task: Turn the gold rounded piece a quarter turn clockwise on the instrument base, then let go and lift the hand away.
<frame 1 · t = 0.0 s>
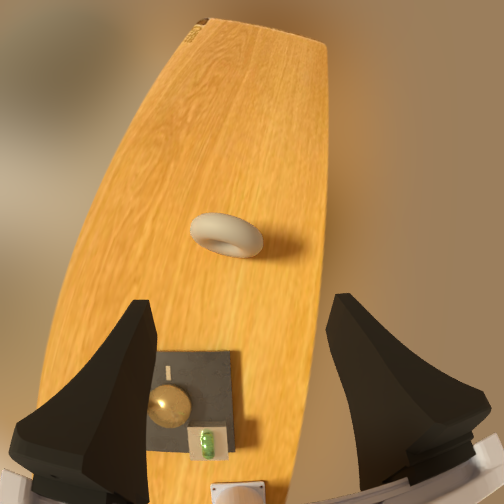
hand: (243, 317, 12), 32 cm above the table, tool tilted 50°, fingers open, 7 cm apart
gold rounded piece: (145, 408, 34), point 5 cm above the table, hinge at 0.0°
instrument base: (172, 402, 39), on the table
donut: (225, 247, 46), on the table
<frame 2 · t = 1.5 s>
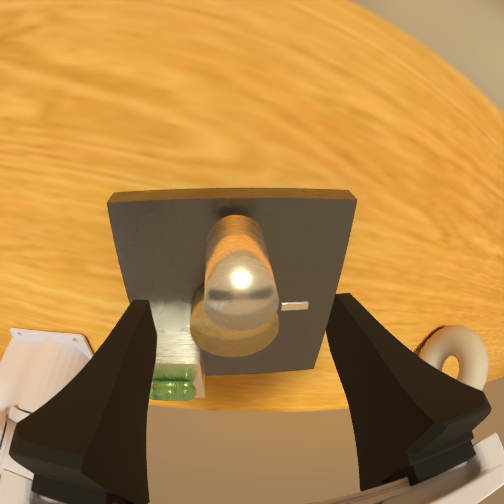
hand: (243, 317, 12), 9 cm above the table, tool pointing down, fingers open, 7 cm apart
gold rounded piece: (236, 317, 18), point 5 cm above the table, hinge at 0.0°
instrument base: (232, 294, 23), on the table
donut: (430, 336, 30), on the table
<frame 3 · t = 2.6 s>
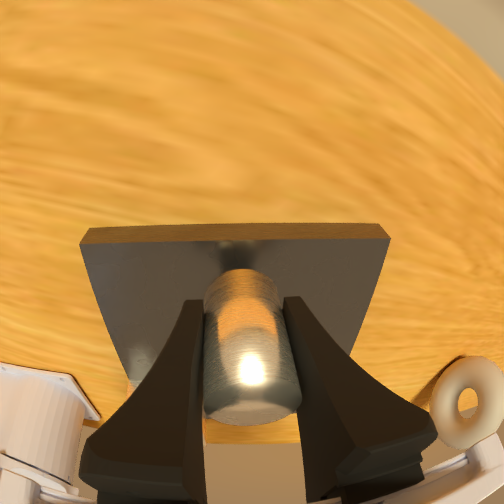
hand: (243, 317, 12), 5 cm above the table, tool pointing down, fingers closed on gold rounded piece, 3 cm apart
gold rounded piece: (242, 384, 14), point 5 cm above the table, hinge at 0.0°, touching gripper
instrument base: (235, 341, 20), on the table
donut: (447, 366, 27), on the table
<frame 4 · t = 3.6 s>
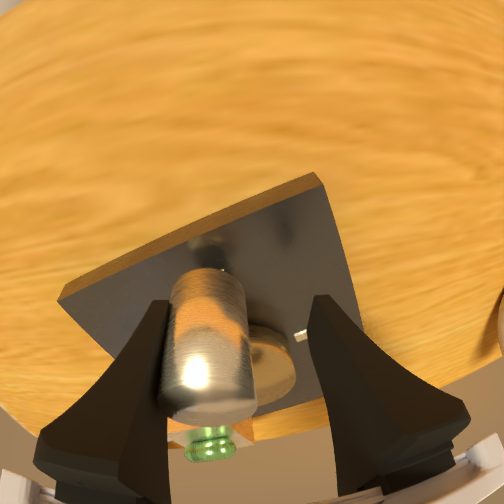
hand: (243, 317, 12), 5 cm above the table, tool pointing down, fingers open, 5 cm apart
gold rounded piece: (233, 382, 14), point 5 cm above the table, hinge at -12.2°, touching gripper
instrument base: (239, 337, 19), on the table
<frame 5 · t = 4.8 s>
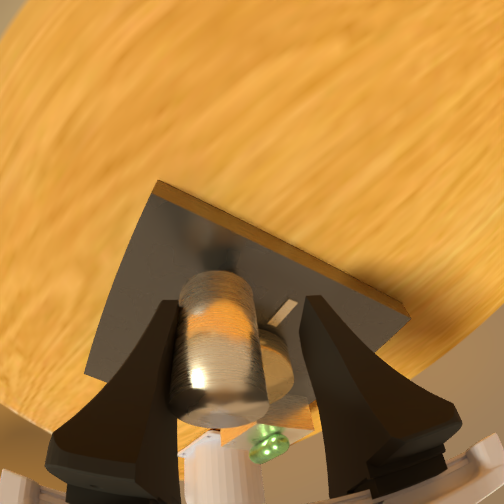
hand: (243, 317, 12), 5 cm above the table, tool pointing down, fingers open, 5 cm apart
gold rounded piece: (235, 384, 14), point 5 cm above the table, hinge at -51.1°, touching gripper
instrument base: (237, 340, 19), on the table
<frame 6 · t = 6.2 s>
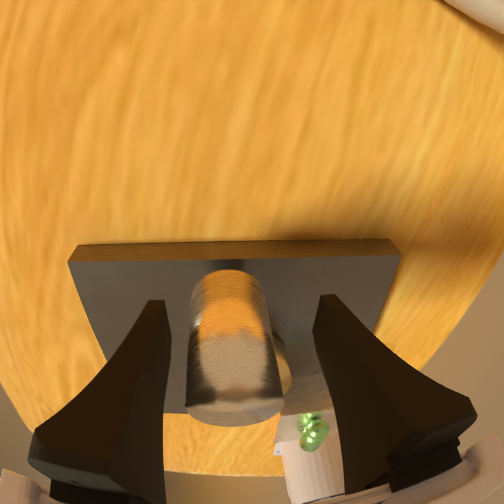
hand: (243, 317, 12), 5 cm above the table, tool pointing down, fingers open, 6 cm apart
gold rounded piece: (237, 384, 14), point 5 cm above the table, hinge at -85.5°
instrument base: (235, 341, 20), on the table
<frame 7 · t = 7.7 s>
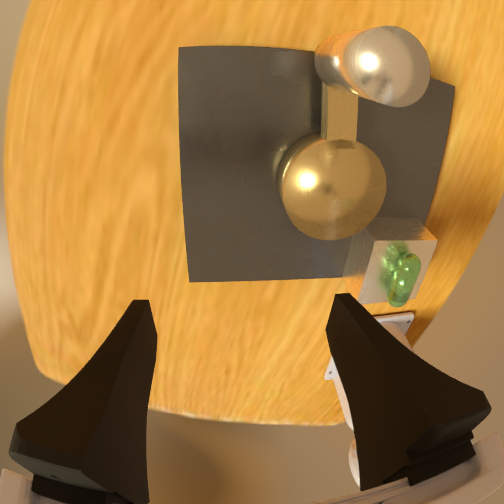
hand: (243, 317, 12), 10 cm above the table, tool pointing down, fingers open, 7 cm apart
gold rounded piece: (352, 152, 13), point 5 cm above the table, hinge at -85.6°
instrument base: (319, 170, 19), on the table
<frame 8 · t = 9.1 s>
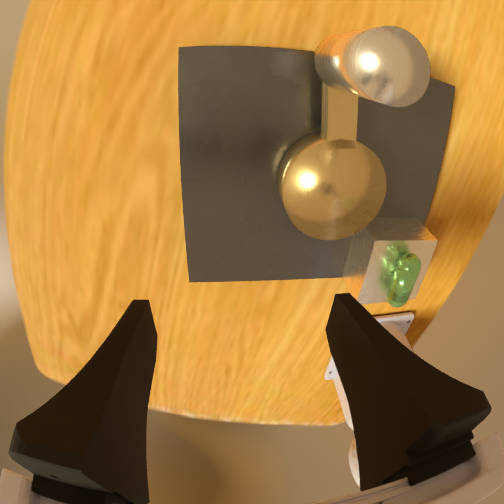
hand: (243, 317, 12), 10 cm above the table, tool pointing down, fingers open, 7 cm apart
gold rounded piece: (352, 152, 13), point 5 cm above the table, hinge at -85.6°
instrument base: (319, 170, 19), on the table
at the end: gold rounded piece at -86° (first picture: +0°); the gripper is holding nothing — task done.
